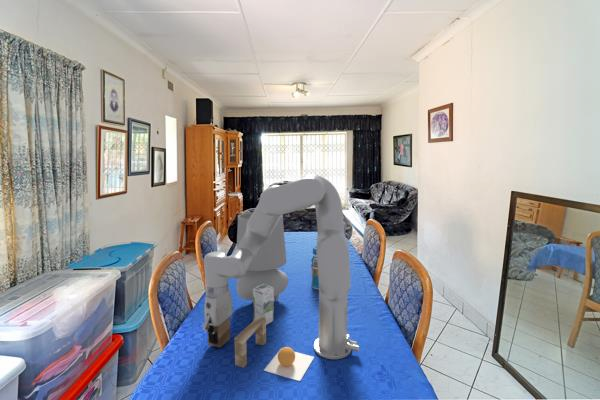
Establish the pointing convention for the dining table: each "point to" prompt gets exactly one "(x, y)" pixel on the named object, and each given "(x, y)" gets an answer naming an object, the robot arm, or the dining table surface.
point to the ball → (286, 356)
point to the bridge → (241, 338)
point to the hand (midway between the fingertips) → (219, 337)
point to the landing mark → (293, 370)
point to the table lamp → (264, 262)
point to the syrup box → (263, 302)
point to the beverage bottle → (314, 270)
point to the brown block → (221, 333)
